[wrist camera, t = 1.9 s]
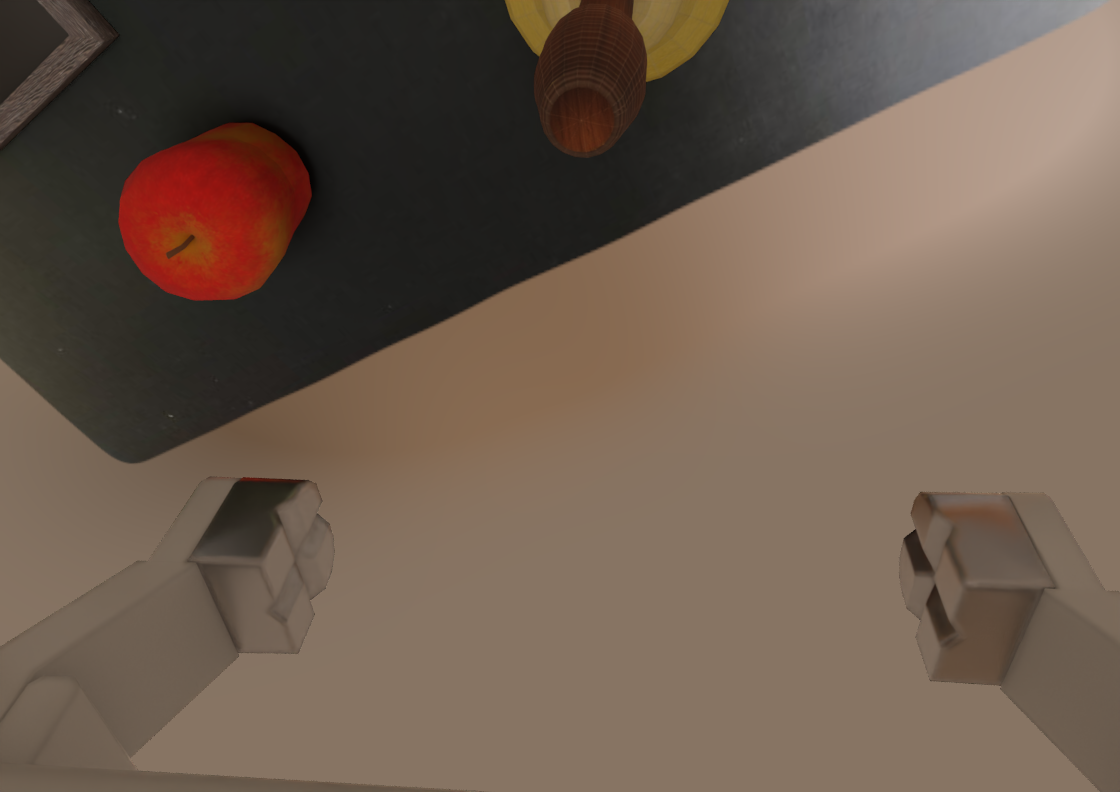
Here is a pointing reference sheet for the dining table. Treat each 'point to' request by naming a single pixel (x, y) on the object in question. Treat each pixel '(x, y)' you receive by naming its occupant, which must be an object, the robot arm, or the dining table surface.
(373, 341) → the dining table surface
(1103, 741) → the robot arm
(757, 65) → the dining table surface
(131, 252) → the apple
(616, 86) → the handbell
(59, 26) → the picture frame
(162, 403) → the dining table surface
